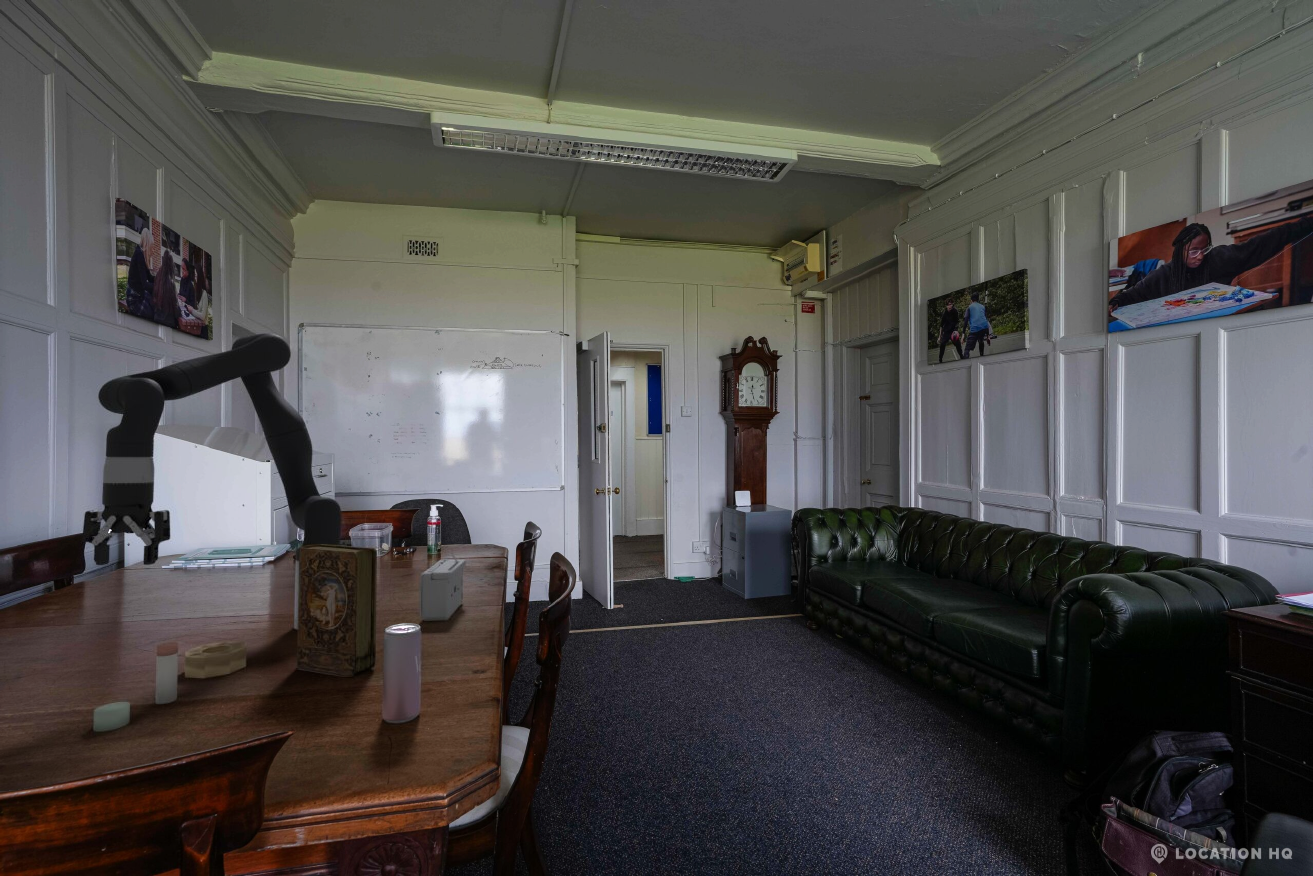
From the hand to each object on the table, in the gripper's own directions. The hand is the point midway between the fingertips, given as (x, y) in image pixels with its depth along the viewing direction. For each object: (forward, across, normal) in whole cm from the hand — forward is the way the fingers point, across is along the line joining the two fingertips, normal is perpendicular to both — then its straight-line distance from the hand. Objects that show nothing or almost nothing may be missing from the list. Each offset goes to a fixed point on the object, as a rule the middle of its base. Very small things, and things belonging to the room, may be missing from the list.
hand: (125, 564), depth 117 cm
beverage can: (+23, -58, +18) cm, 65 cm away
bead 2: (+23, -12, -8) cm, 27 cm away
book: (+23, -37, -6) cm, 44 cm away
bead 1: (+23, -12, +18) cm, 32 cm away
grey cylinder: (+23, -14, +8) cm, 28 cm away
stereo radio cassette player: (+23, -47, -50) cm, 73 cm away
